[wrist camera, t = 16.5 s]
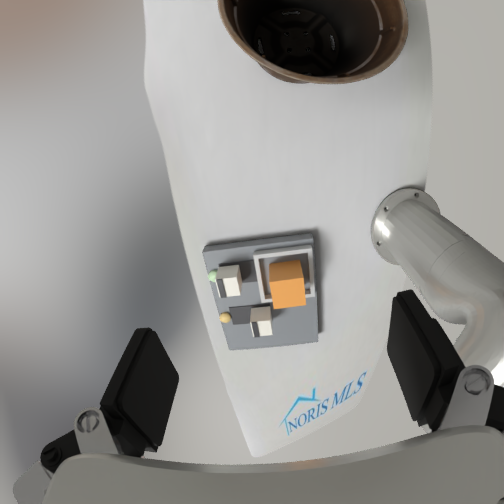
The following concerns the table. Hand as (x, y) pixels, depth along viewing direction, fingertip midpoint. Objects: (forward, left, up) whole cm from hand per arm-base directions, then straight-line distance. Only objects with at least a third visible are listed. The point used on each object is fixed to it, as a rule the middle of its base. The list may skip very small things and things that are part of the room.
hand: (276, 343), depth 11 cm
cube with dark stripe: (-11, +19, -29) cm, 36 cm away
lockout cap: (-10, +11, -29) cm, 33 cm away
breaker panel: (-10, +16, -31) cm, 37 cm away
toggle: (-3, +15, -29) cm, 33 cm away
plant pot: (+7, -18, -32) cm, 37 cm away
